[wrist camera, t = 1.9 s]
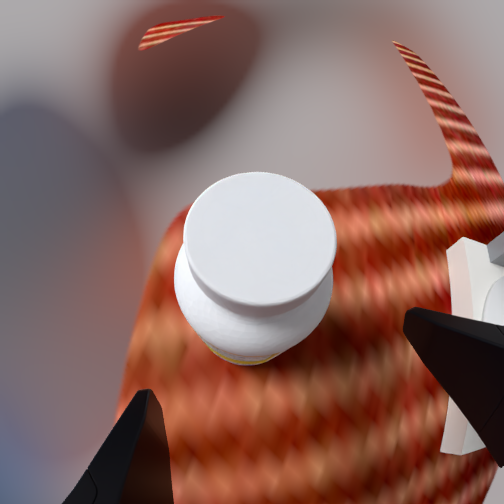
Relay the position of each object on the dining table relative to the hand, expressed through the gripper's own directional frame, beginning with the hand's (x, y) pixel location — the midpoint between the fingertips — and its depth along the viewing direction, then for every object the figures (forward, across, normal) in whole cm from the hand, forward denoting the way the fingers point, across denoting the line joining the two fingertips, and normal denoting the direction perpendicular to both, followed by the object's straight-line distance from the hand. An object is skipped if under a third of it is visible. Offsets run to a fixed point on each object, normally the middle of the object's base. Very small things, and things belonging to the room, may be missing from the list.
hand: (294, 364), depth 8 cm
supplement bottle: (+11, 0, +5) cm, 12 cm away
